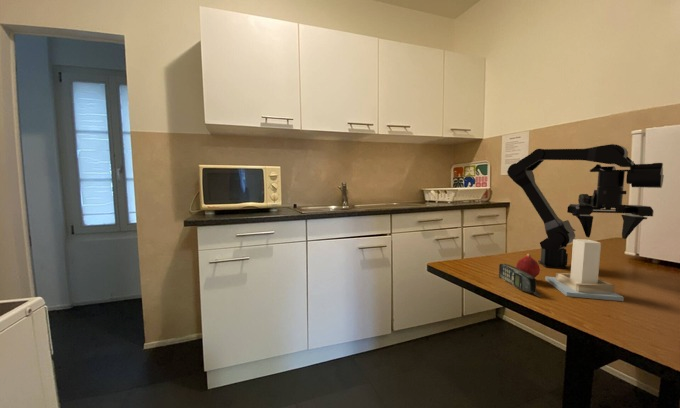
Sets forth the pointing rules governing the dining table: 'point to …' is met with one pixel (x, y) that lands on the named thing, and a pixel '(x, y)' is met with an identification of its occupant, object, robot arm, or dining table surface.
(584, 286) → the socket collar
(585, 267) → the block
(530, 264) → the onion
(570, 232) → the robot arm
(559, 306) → the dining table surface
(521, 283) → the mobile phone
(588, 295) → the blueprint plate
